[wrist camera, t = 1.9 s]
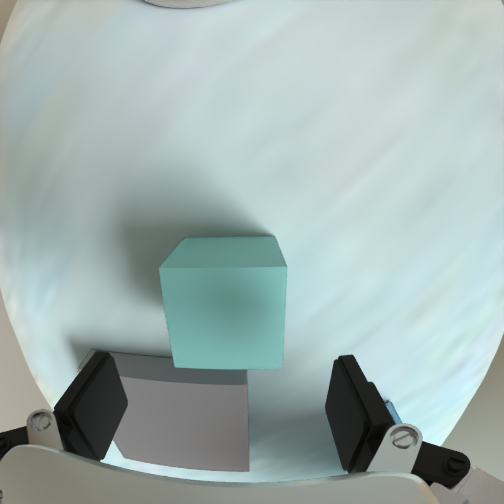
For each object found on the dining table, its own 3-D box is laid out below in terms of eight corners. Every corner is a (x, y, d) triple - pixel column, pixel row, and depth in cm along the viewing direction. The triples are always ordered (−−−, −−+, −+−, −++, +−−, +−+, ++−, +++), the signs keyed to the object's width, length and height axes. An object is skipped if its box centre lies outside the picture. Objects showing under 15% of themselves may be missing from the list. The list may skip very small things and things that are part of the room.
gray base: (91, 349, 21) (77, 368, 18) (246, 359, 21) (246, 384, 19) (130, 439, 25) (124, 457, 22) (249, 450, 25) (249, 471, 23)
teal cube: (184, 237, 19) (158, 267, 13) (274, 236, 19) (287, 266, 13) (192, 316, 20) (174, 367, 15) (273, 316, 20) (281, 368, 15)
